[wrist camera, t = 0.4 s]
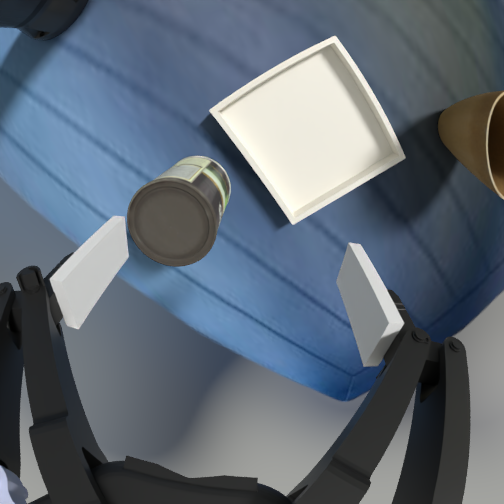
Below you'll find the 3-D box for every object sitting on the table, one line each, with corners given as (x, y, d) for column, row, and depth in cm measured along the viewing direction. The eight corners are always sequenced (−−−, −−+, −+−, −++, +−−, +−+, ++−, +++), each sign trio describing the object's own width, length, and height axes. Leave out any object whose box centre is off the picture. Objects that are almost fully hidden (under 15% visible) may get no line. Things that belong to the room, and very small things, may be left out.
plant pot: (472, 177, 36) (530, 212, 23) (413, 157, 36) (475, 189, 22) (485, 103, 29) (548, 118, 15) (425, 72, 29) (492, 69, 15)
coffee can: (243, 175, 40) (234, 209, 27) (211, 229, 44) (192, 281, 32) (183, 142, 37) (145, 162, 25) (156, 200, 42) (116, 240, 30)
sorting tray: (212, 110, 35) (209, 110, 32) (330, 40, 29) (335, 35, 26) (290, 217, 42) (292, 225, 40) (397, 154, 36) (405, 158, 34)
